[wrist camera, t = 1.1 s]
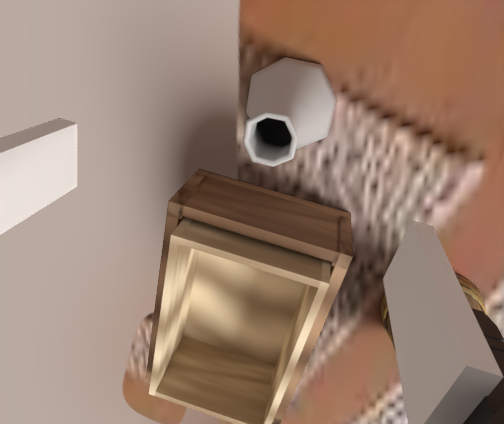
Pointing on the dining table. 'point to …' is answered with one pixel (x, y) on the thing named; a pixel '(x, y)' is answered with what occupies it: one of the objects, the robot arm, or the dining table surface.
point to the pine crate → (233, 321)
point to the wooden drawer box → (266, 229)
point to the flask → (287, 110)
